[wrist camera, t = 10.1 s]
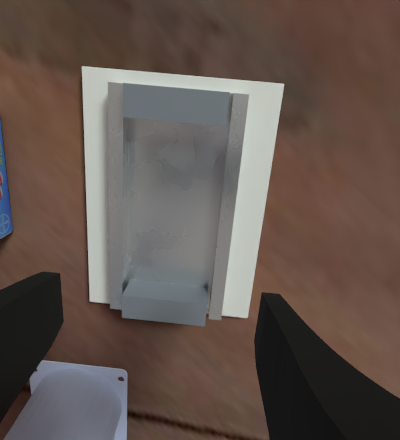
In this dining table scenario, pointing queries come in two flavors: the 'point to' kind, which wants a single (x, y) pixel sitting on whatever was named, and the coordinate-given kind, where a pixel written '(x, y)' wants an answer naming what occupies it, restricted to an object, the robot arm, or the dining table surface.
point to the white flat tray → (176, 191)
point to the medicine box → (4, 195)
